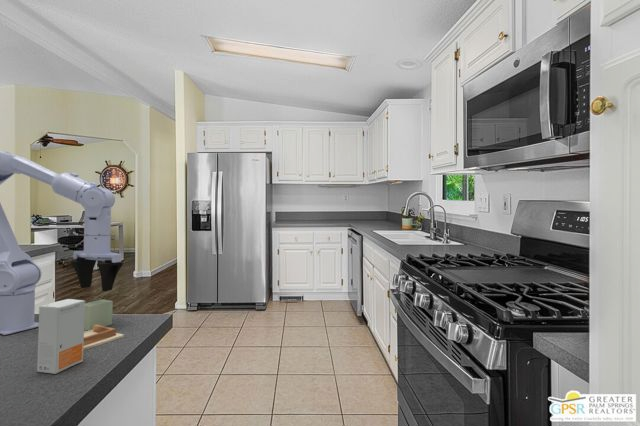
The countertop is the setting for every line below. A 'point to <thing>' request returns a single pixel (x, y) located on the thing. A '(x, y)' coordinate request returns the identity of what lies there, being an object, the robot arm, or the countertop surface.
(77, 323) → the skincare box
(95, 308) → the chute block
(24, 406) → the countertop surface
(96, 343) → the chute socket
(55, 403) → the countertop surface
